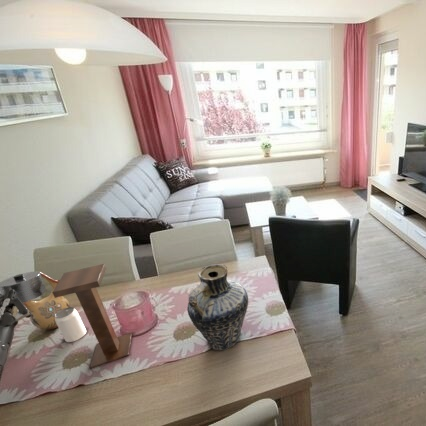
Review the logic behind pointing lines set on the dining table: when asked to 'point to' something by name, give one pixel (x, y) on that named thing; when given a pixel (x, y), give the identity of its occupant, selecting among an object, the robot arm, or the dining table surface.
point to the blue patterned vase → (218, 307)
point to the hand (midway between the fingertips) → (4, 291)
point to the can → (70, 324)
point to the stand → (95, 312)
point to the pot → (24, 286)
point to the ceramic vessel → (46, 307)
